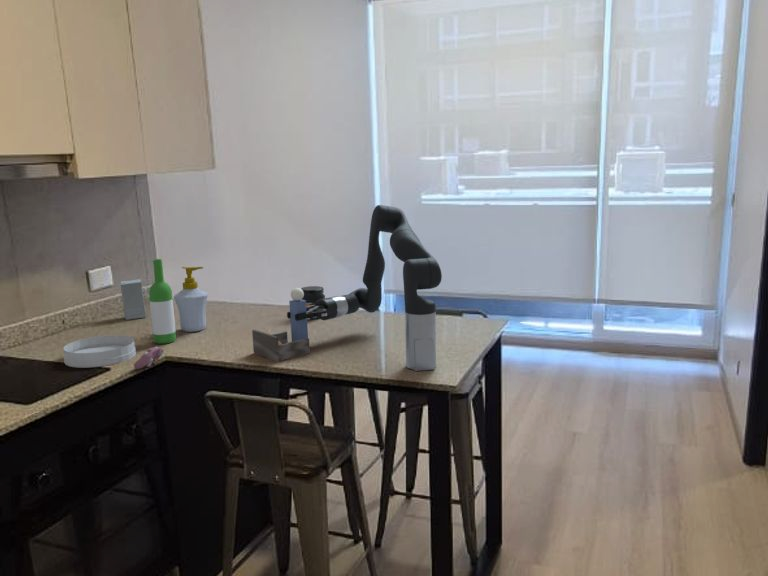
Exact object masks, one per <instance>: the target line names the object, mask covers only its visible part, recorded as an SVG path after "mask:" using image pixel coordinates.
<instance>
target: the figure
mask: <svg viewBox="0 0 768 576" xmlns="http://www.w3.org/2000/svg"><path fill="white" fill-rule="evenodd" d="M303 296H304V292H303V290H302V289H301V287H300V288H299V287H294V288H293V289H292V290H291V292H290V298H291V299H292V300H289V301H288V302H289V303H288V305H289V312H290V333H291V342H294V341H298V340H302V339H306V338H309V332H308V331H309V329H308V320H307V319H303V320H299V321H296V320H295V314H299V313H303V312H304V313H305V312H307V310H306V300H302V298H303Z"/></svg>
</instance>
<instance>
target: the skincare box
mask: <svg viewBox="0 0 768 576" xmlns="http://www.w3.org/2000/svg"><path fill="white" fill-rule="evenodd" d="M119 283H120V291H121V299H122V305H123V313H124V317H125V321H128V320H136V319H143V318H146V317H147V316H146V309H145V308H146V307H145V301H144V293H143V283H142V280H141V279H133V280H123V281H120V282H119Z"/></svg>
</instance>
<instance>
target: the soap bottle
mask: <svg viewBox="0 0 768 576" xmlns="http://www.w3.org/2000/svg"><path fill="white" fill-rule="evenodd" d="M181 268H182V269H184V270H185V274H186V275H187V277H185V278H184V282H182V289H181V291H179V292H178V293H176V294H174V295H173V299H174V301H175V304H176V306H177V310H178V314H179V321H180V324H179V325H180V328H181V330H182V331H183V332H186V333H187V332H188V333H192V332H193V333H194V332H196V333H197V332H200V331H203V330H205V328H206V325H207V318H206V317H207V316H206V305H207V299H208V296H209V293H208V292H206V291H205V290H202V289H200V288H199V287H198V282H197V281H196V279H195V277H192V275H193V272H194V271H197V270H203V269H204V266H182V267H181Z"/></svg>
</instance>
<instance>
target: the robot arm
mask: <svg viewBox="0 0 768 576" xmlns="http://www.w3.org/2000/svg"><path fill="white" fill-rule="evenodd" d="M370 219H371V220H370V229H369V234H368V235H369V236H368V237H369V238H368V245H367V246H368V248H367V255H366V256H367V257H366V261H365V262H366V263H365V267H364V272H363V276H362V282H363V284H364V285H365V287H366V288H364V287H359V288H357V289H355V290H353V291H352V292H350V293H348V294H344V295H336V296H330V297H325V299H320V300H318V301H317V303H316V305H310V306H307V307H306V310H307V312H305V313H304V312H303V313H299V314H295V320H296V321H299V320H303V319H307V321H308V320H310V321H313V320H321V321H328V320H333V319H336V318H337V319H338V318H341V317H343V316H347V315H350V314H354V313H356V312H357V311H358V310H359V308H361V309H363V310H364V311H366V312H367V313H371V314H372V313H375V312H377V311H378V310H379V308H380V306H381V304H382V292H383V291H382V289H383V288H382V280H383V277H384V274H385V273H384V272H385V268H386V263H385V258H384V255H383V254H384V253H383V252H382V248H381V245H380V232H383V233H388V234H391V235H390V238H389V246H390V248H391V250H392V252H393V253H394V255H395V257H396V258H397V259H398V260H400V262H401V261H402V262H403V266H402V279H403V281H402V282H403V294H404V295H403V296H404V298H403V299H404V311H405V312H404V314H405V315H404V320H405V322H404V324H405V325H404V326H405V328H404V331H405V366H406V368H407V369H409V370H410V369H411V370H413V371H415V372H418V371H419V372H420V371H431V370H435V369H436V366H437V331H436V330H437V326H436V324H437V323H436V320H437V319H436V317H437V314H436V310H437V309H436V308H437V307H436V302H435V301H433V300H432V299H428V298H425V297H421V296H420V295H418V290H421V291H422V290H431V289H435V288H438V287H439V285H440V284H441V282H442V280H443V279H442V278H443V276H442V269H441V267H440V264H439V262H438V261H437V259H436V258H435V257H434V256H433V255H432V254H431V253H430V252H429V251H428V250H427V249H426V248H425V247H424V245H423V244H422V242H421V241H420V239H419V237H418V236H417V234H416V233H415V232H414V230H413V229H412V227H411V226H410V224H409V221H408V218H407V217H406V214H405V212H404V211H403V209H401V208H399V207H395V206H389V205H385V204H384V205H383V204H377V205H376V206H375V207H374V209H373V211H372V215H371V218H370ZM286 317H287V319H290V311H287V313H286Z"/></svg>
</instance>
